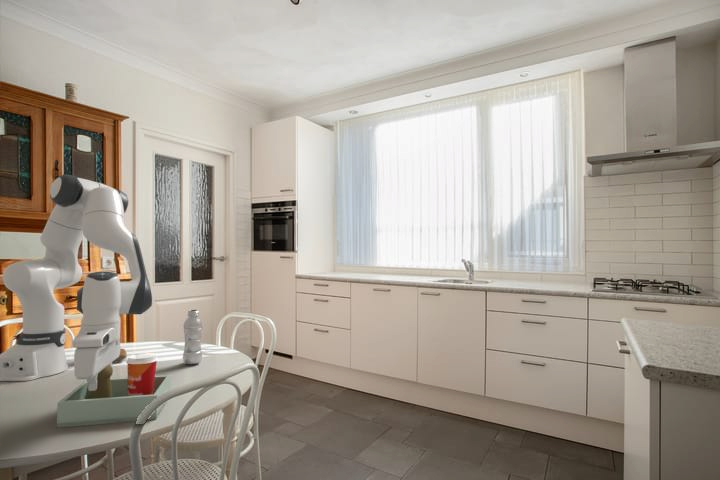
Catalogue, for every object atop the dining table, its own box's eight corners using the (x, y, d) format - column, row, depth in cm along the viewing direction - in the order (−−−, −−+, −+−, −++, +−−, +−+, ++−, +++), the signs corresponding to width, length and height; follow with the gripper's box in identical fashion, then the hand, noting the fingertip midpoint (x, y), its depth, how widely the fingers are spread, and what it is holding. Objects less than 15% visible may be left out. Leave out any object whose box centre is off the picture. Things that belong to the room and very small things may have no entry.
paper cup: (118, 408, 104) (121, 356, 105) (148, 401, 110) (151, 351, 111) (130, 415, 99) (133, 360, 100) (160, 407, 105) (163, 355, 106)
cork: (100, 413, 99) (101, 370, 99) (80, 410, 100) (81, 368, 100) (119, 403, 105) (120, 363, 105) (100, 401, 106) (101, 361, 106)
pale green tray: (56, 427, 93) (57, 402, 93) (85, 401, 108) (86, 380, 109) (156, 419, 98) (157, 395, 99) (170, 395, 114) (171, 375, 114)
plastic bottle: (197, 366, 141) (198, 312, 141) (179, 366, 141) (180, 311, 141) (204, 361, 147) (206, 309, 148) (187, 360, 148) (188, 309, 148)
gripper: (102, 325, 112) (101, 372, 112) (69, 342, 92) (67, 400, 92) (127, 324, 113) (125, 371, 113) (98, 341, 94) (97, 398, 93)
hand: (99, 384), depth 102 cm, fingers open, 6 cm apart
